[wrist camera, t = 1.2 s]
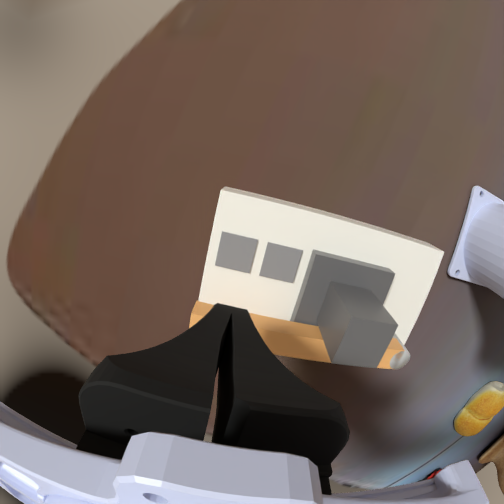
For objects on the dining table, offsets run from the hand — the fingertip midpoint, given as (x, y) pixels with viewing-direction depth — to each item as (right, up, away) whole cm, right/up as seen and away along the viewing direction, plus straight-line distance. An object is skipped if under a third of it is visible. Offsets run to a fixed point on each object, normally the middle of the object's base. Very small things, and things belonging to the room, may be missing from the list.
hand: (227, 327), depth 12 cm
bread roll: (+32, -18, +15) cm, 40 cm away
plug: (+7, +1, +9) cm, 12 cm away
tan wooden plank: (+5, -2, +8) cm, 9 cm away
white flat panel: (+6, +1, +9) cm, 11 cm away
